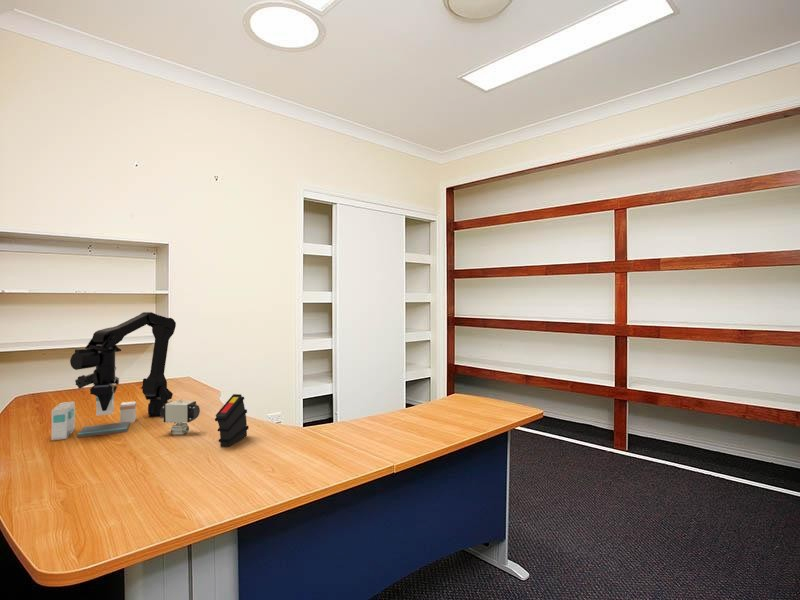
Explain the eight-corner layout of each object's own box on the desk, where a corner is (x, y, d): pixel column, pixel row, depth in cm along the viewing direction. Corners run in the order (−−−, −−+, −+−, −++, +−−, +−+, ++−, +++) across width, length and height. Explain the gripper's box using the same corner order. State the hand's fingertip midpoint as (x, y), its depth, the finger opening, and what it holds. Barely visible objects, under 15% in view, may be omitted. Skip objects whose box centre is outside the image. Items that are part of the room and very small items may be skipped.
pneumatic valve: (193, 436, 144) (193, 401, 144) (159, 435, 145) (159, 400, 145) (201, 431, 150) (201, 397, 150) (168, 431, 150) (168, 397, 150)
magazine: (253, 428, 147) (243, 393, 141) (233, 457, 136) (221, 420, 129) (243, 428, 148) (232, 393, 142) (222, 456, 136) (210, 420, 130)
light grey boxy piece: (135, 419, 165) (136, 401, 165) (134, 422, 161) (134, 403, 161) (121, 420, 163) (121, 402, 163) (120, 423, 159) (120, 405, 159)
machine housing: (76, 428, 152) (76, 401, 152) (67, 438, 141) (67, 409, 141) (60, 430, 150) (60, 402, 150) (51, 440, 139) (51, 410, 139)
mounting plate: (129, 424, 158) (129, 421, 158) (126, 431, 149) (126, 428, 149) (83, 429, 152) (83, 426, 152) (77, 437, 143) (77, 433, 143)
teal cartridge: (114, 411, 154) (114, 391, 154) (112, 414, 149) (112, 394, 149) (98, 412, 151) (98, 393, 151) (96, 415, 147) (96, 395, 147)
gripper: (83, 363, 155) (83, 405, 155) (71, 371, 139) (71, 418, 139) (119, 361, 160) (119, 402, 160) (112, 368, 144) (112, 414, 144)
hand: (105, 409), depth 151 cm, fingers closed on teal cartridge, 5 cm apart
